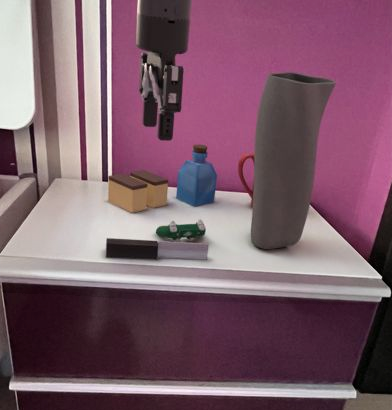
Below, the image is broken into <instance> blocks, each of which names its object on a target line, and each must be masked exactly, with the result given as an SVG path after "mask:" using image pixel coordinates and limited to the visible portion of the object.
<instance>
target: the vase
mask: <svg viewBox="0 0 392 410" xmlns="http://www.w3.org/2000/svg"><path fill="white" fill-rule="evenodd" d="M336 85H337V81H336V80H334V79H330V78H326V77H320V76H313V75H310V74H309V75H308V74H304V73H299V72H293V71H285V72H283V71H282V72H270V73H268V74H267V77H266V80H265V83H264V86H263V90H262V93H261V97H260V101H259V105H258V110H257V116H256V124H255V135H254V155H255V156H254V162H253V182H254V192H253V207H252V211H251V223H250V240H251V243H252V245H254V246H255V247H257V248H259V249H262V250H275V249H279V248H287V247H291V246H293V245H295V244H297V243H298V242H299V241H300V240H301V238H302V236H303V232H304V229H305V225H306V223H307V222H306V221H307V217H308V213H309V210H310V205H311V200H312V196H313V189H314V182H315V175H316V174H315V173H316V165H317V151H318V142H319V133H320V127H321V123H322V119H323V116H324V113H325V111H326V107H327V105H328V102H329V100H330V99H331V98H330V97H331V95H332V94H333V91H334V89H335V87H336Z"/></svg>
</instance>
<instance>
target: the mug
mask: <svg viewBox="0 0 392 410" xmlns="http://www.w3.org/2000/svg"><path fill="white" fill-rule="evenodd" d="M254 156H255V154H254V153H249V152H248V153H244V154H243V155H241V156H240V158H239V161H238V165H237V173H238V177H239V180H240V182H241V184H242V186H243V188H244V189H245V191H246V193H247V194H248V196H249V197H250V207H251V208H253V192H254V181H253V184H252V189H251V188H250V187H249V185H248V183H247V182H246V178H245V177H244V172H243V171H244V169H243V168H244V164H245V162H246V161H247V160H248V159H251V160H252V163H254Z"/></svg>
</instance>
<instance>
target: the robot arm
mask: <svg viewBox="0 0 392 410" xmlns="http://www.w3.org/2000/svg"><path fill="white" fill-rule="evenodd" d="M192 3H193V2H192V0H137V6H136V7H137V8H136V9H137V10H136V31H135V33H136V35H135V38H136V39H135V45H136V48H137V49H139V50H142V51H145V52H141V54H140V67H139V68H140V69H139V83H138V85H139V86H138V92H139V94H140V95H141V100H142V101H143V102H142V125H143V126H144V127H146V128H155V127H156V126H157V139H158V140H159V141H164V142H165V141H172V140H173V136H174V126H175V124H174V123H175V115H177V113H181V112H182V101H183V85H184V84H183V83H184V67H183V66H182V65H176V56H177V55H185V54H186V53H187V52H188V49H189V38H190V26H191V15H192V13H191V11H192Z"/></svg>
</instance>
